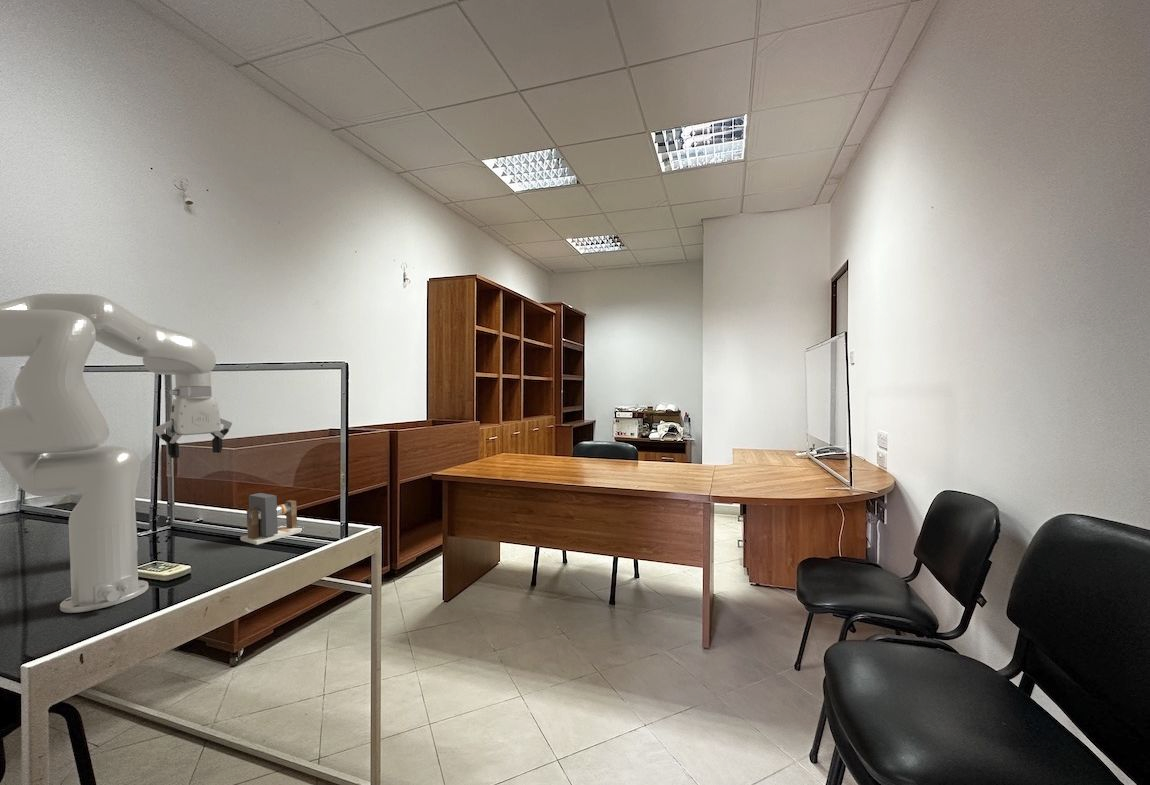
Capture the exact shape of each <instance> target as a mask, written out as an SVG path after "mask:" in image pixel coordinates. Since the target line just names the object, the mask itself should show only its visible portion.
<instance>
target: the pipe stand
mask: <svg viewBox="0 0 1150 785" xmlns="http://www.w3.org/2000/svg"><path fill="white" fill-rule="evenodd" d="M297 510H298V509H297V500H292V499H290V500H286V501H285V503H284V504H283V503H282V504H279V505H278V504H277V517H279V516H284V515H285V520H286V524H285V525H287V526H283V525H280V526H279V525H278V534H274V535H271V536H267V537H266V536H262V535H259V522H258V521H259V520H261V510H257V509H246V524H247V526H246V528H247V529H246V530H247V535H241V536H240V541H242V542H245V543H249V544H253V545H256V546H257V545H262V544H264V543H268V542H272V541H275V540H278V539H282V538H285V537H288V536H292V535H293V536H294V535H295V534H300V533H302V532H301V531H302V528H295V527H296V525H297V526H298V516H297V514H298V513H297Z"/></svg>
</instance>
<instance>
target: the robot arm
mask: <svg viewBox="0 0 1150 785" xmlns="http://www.w3.org/2000/svg"><path fill="white" fill-rule="evenodd" d="M96 342H97V343H100V344H102V345H104V346H106V347H108V348H110V349H112V350H114V351H117V352H118V353H120V354H123V355H127V356H132V357H137V358H142V364H143V365H144V367H145V369H147V370H148V371H149V372H151V373H153V374H156V375H163V376H165V375H166V376H168V375H175V381H174V382H175V387H174V389H169V391H168V392H169V395H171V396H172V395H173V396H174V397H175V398H174V399H173V400H172V404H171V408H170V415H169V416H170V417H169V420H168V421H166V422H164V423H162V424H160V425H158V426H155V427H154V428H153V430H154V432H155V433H156V435H158V437H159V438H160V439H161V440H163V441H164V442H165V443H166V444H167V450H168V451H167V453H168V454H167V455H168V456H169V457H170V458H171V459H178V458H180V447H179V446H180V444H179V442H177V441H178V440H179V439H180V438H181V437H182V436H193V435H194V436H195V435H206V434H207V435H208V434H210V435H211V436H212V437H213V438H212V440H211V442H212V443H211V446H212V453H216V454H219V453H221V452H222V449H223V439H224V438H225V436H226V435H227V434H228V433H229V431H230V429H231V427H232V425H233V422H231V421H229V420H226V419H223V418H221V416H220V411H219V409H220V408H219V407H218V406H219V405H218V402H217V399H216V397H213V396H212V393H213V392H212V377H211V376H212V374H211V373H212V372H211V371H213V370H214V369H215V366H216V364H217V358H216V355H215V352H214V351H213V349H211V348H210V346H208V345H207V344H206V343H205V342H203V341H201V340H200V339H199V338H197V337H194V336H193V335H190V334H189V333H188V334H187V333H184V332H182V331H177V330H174V329H171V328H167V327H164V326H160V325H156V324H152V323H149V322H147V321H145V320H144V319H142V318H140V317H139V316H137V315H136V314H134V313H132V312H131V311H129V310H128V309H126V308H124V307H123V306H121V305H120V304H118V303H117V302H115V301H113V300H111V299H110V298H107V297H105V296H101V295H97V294H93V293H90V294H88V293H38V294H32V295H27V296H23V297H19V298H16V299H11V300H8V301H4V302H1V303H0V358H7V357H8V358H9V357H19V358H20V357H21V358H22V357H25V358H26V357H28V358H27V361H26V362H25V364H24V365H23V367H22V368H21V369H20V371H19V372H18V374H17V376H16V378H15V380H14V387H13V388H14V393H15V395H16V397H17V399H18V400H19V403H20V404H17V405H11V406H10V405H9V406H7V407H3V408H1V409H0V465H1V466H2V467H3V469H5V471H6V473H8V475H9V476H10V477H11V478H12V479H13V481H14V482H15V483H16V484H17V486H18V487H19V488H20V489H21V490H22V491H24V492H25V493H27V494H29V495H32V496H36V497H61V496H62V497H63V496H73V495H79V496H81V495H82V496H81V498H80V499H79V501H78V502H77V503H76V505H75V506H74V508H72V511H71V512H70V514H69V518H68V539H69V540H68V542H69V564H70V566H69V567H70V569H69V570H70V588H71V590H70V591H71V596H69V597H67V598H66V599H64V600H63V601H61V603H59V610H60V612H63V613H66V614H68V613H69V614H73V613H74V614H76V613H85V612H90V611H96V610H100V609H103V608H104V609H105V608H109V607H112V606H114V605H119V604H122V603H124V602H127V601H130V600H132V599H134V598H137V597H139V596H140V595H142V594H144V593H146V591H148V589H149V582H148V581H146V580H143V579H142V580H141V579H139V570H138V569H139V567H138V566H139V564H138V563H139V562H138V550H137V545H138V535H137V536H136V522H137V511H136V512H135V501H136V499H137V498H136V494H137V487H138V482H139V477H140V473H141V460H140V457H139V455H138V454H137V453H136V452H135V451H133V450H132V449H129V448H126V447H124V446H123V447H121V446H114V445H109V446H108V445H105V446H103V444H104V443H106V441H107V440H108V439H109V435H110V429H109V428H110V427H109V425H108V423H107V421H106V419H105V417H104V415H103V413H102V412H101V410H100V408H99V406H98V405H97V403H96V401H95V399H94V398H93V396H92V394H91V392H90V391H89V389H88V387H87V384H86V383H85V379H84V370H85V365H86V363H87V360H88V358H89V356H90V354H91V351H92V349H93V347H94V345H95V343H96ZM221 426H223V427H222V428H221ZM167 429H169V431H170V435H168V434H167V433H166V432H165V430H167Z"/></svg>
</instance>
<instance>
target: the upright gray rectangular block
mask: <svg viewBox="0 0 1150 785" xmlns="http://www.w3.org/2000/svg"><path fill="white" fill-rule="evenodd" d="M277 499H278V498H277V495H274V494H268V493H263V492H259V493H254V494H249V495H248V506H249V507H248V508H249V509H257V510H261V520H259V521H258V522H259V535H262V536H266V537H267V536H271V535H274V534H278V527H279V525H278V516H277V506H278V501H277Z"/></svg>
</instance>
